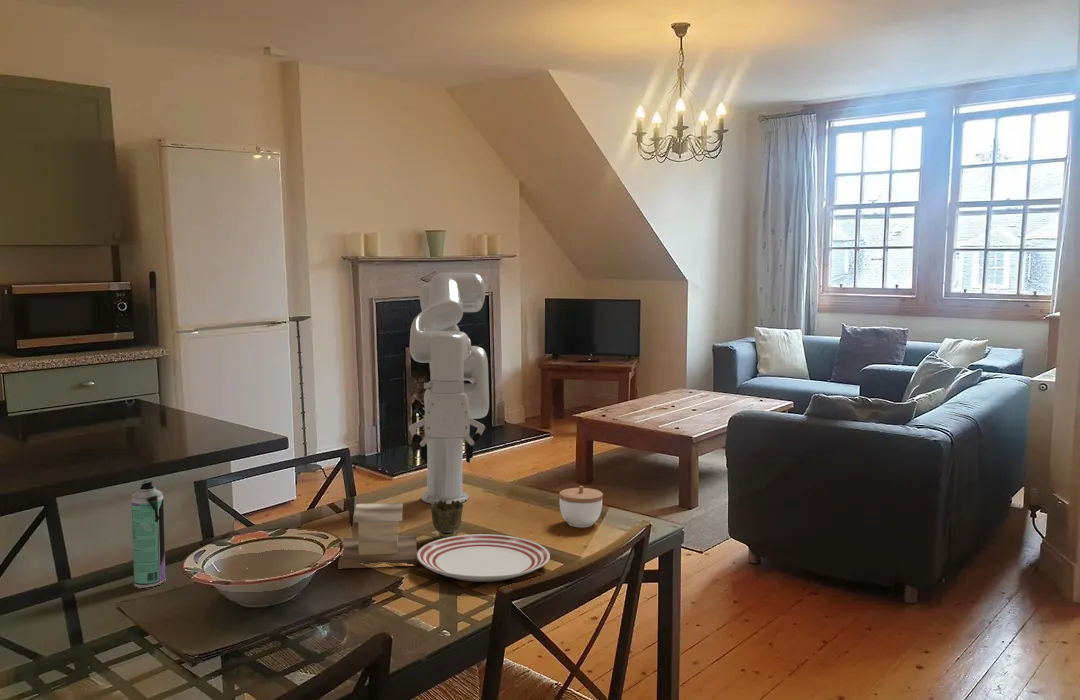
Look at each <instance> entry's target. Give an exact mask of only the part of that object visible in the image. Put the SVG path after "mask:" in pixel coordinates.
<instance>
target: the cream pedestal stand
mask: <svg viewBox="0 0 1080 700" xmlns="http://www.w3.org/2000/svg"><path fill="white" fill-rule="evenodd" d="M403 503H404V502H378V503H376V502H374V503H357V504H356V505H355V509H354V513H353V516H352V520H353V521H352V523H353V524H354V523H358V537H344V538H343V539H342V543H344V550H343V558H346V559H348V560H351V561H352V562H357V563H363V564H370V563H378V562H388V563H389V562H390V563H407V564H413V565H417V566H418V558H417V553H418V550H417V547H418V546H417V535H413V534H412V535H399V522H403V512H404V511H403V509H404V508H403V505H404V504H403Z"/></svg>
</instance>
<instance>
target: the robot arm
mask: <svg viewBox="0 0 1080 700" xmlns="http://www.w3.org/2000/svg"><path fill="white" fill-rule="evenodd" d="M485 299H486V285H485V281H484V279H483V277H482V276H481V275H480V274H479V273H476V272H450V271H449V272H440V273H437V274H436V275H434V276H433V277H432V278H431V279H430V281H428V282H426V283H424V284H422V286H421V287H420V290H419V303H420V308H421V312H419V313H418V314H417V315H416V316H415V318H414V319H413V321H412V323H411V326H410V332H409V353H410V356H411V358H412V359H413V361H415V362H417V363H425V364H427V363H428V364H429V373H430V381H428V382H424V383H423V389H425V391H424V395H423V405H424V417H423V418H422V419H419V420H418V421H416V422H414V423H412V424H410V425H409V426H408V431H409V433H410V434H411V436H412V438H413V440H414V441H415V442H416V443H418V445H420V459H421V460H423V463H424V464H425V465H427V466H426V467H427V469H426V473H427V475H426V476H427V477H426V480H427V481H426V483H427V484H426V485H427V486H426V487H427V489H426V490H427V491H426V492H423V493H422V494H421V501H423V502H424V503H427V504H430V505H432V503H433V505H434V503H435V502H436V503H438V502H439V501H440V500H441V501H443V503H444V501H446V503H447V504H449V503H450V504H451V502H452V501H455V502H457V501H459V502H460V504H461V503H464V502H466V501H468V499H469V494H468V493H467V492H466V491H463V447H464V445H463V443H464V442H463V439H464V440H465V441H466V444H465V461H466V463H467V464H468V463H469V464H470V462H471V459H473V457H474V455H473V454H474V453H473V451H474V449H473V448H474V445H475V443H477V442H478V440H480V438H481V436H482V435H483V433H484V431H485V429H486V426H485V424H483V423H481V422H479V421H477V419H478V420H479V419H483V418H485V417H486V416H487V415H488V413H489V409H490V391H489V390H490V389H489V387H490V385H489V363H488V361H489V359H488V356H487V353H486V350H485V349H484V348H482V347H480V346H477V345H472V342H471V341H472V340H471V339H470V337H469V336H468V334H467V333H466V332H464V331H460V327H459V326H458V324H459V323H460V322H461V320H462V318H463V316H464V313H477V312H479V311H481V309H482V308H483V306H484V303H485ZM464 381H469V383H465V382H464ZM423 426H424V428H423V429H424V435H423V436H420V435H419V433H418V432H417V430H418V429H419V428H421V427H423ZM471 426H472V427H475V428H477V429H476V432H475V433H474V434H473V435H472V436H471V435H470V431H471V430H470V429H471ZM465 500H466V501H465Z"/></svg>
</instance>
